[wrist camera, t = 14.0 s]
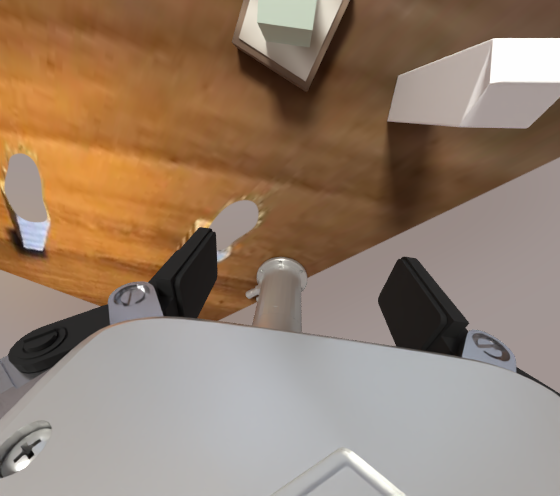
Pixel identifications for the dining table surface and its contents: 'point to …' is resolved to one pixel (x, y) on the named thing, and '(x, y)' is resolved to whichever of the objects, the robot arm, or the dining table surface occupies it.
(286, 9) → the block
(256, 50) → the plinth
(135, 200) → the dining table surface
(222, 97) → the dining table surface
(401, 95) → the milk
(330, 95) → the dining table surface
